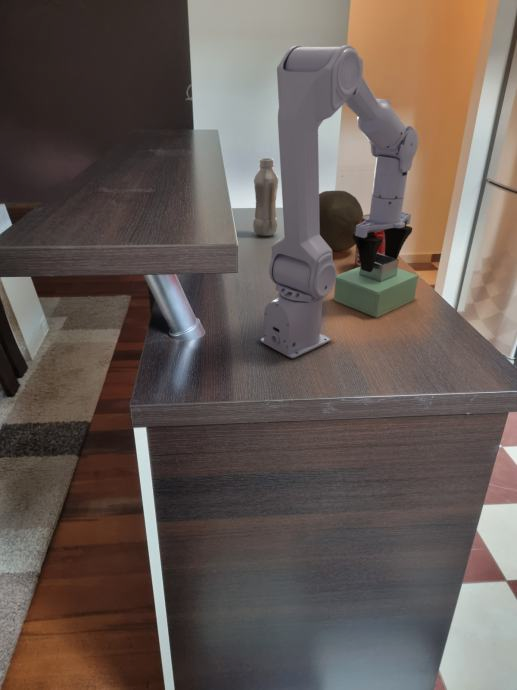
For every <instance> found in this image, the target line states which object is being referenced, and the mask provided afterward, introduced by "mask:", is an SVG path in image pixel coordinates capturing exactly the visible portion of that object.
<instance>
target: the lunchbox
mask: <svg viewBox="0 0 517 690" xmlns="http://www.w3.org/2000/svg"><path fill="white" fill-rule="evenodd" d="M418 280H419V277H418V278H416V279H414V280H412V281H409V282H407V283H405V284H402V285H400V286H398V287H395V288H393V289H391V290H389V291H386V292H384V293H382V294H379V295H376V294H373V293H371V292H368V291H365V290H363V289H360V288H357V287H355V286H352V285H349V284H346V283H344V282H341V281H338V280H336V281H335V284H334V295H333V301H335V302H337V303H340V304H342V305H345V306H346V307H349V308H351V309H353V310H357V311H359V312H362V313H364V314H366V315H369V316H371V317H374V318H379V317H381V316H383V315H386V314H388V313H390V312H391V311H394V310H396V309H398V308H400V307H402V306H405V305H407V304H409V303H411V302H414V301H415V297H416V293H417V285H418Z"/></svg>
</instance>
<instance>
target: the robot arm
mask: <svg viewBox="0 0 517 690" xmlns="http://www.w3.org/2000/svg"><path fill="white" fill-rule="evenodd" d="M363 74H364V60H363V58H361V56H359V53H358V51H357V49H356V48H355V47H354V46H352V45H349V44H347V45H341V46H302V45H293V46H291V47H290V48H289V49H288V50H287V51H286V53H285V54H284V55H283V57H282V58H281V60H280V62H279V64H278V65H277V67H276V78H277V95H278V96H277V99H278V110H277V129H278V144H279V145H278V147H279V148H278V149H279V166H280V180H281V201H282V216H283V217H282V218H283V233H284V234H283V235H284V236H282V237H281V238H279V239H278V240H277V241H275V242H274V243H273V245H272V246H271V258H270V262H269V270H268V272H269V273H268V274H269V278H270V280H271V281H272V283H273V284H275V291H276V292H278V294H277V296H276V297H275V298H274V299H273V300H272V301H270V302H269V303H267V304H266V306H265V307H264V308H265V309H264V314H263V337H262V338H260V343H262V344H264V345H265V346H268V347H269V348H271V349H273V350H275V351H277V352H279V353H281V354H283V355H284V356H286V357H288V358H290V359H296V358H298V357H300V356H302V355H304V354H306V353H308V352H310V351H313V350H315V349H317V348H319V347H321V346H323V345H325V344H327V343H329V342H331V337H328V336H326V335H324V334H323V333H321V325H322V313H323V312H322V311H323V301H324V298H325V297H326V296H327V295H329V294H330V293H331V292H332V289H333V288H334V287H335V283H336V275H337V267H336V265H335V262H334V259H333V251H332V249H331V248H330V247H329V246H328V244H327V243H326V242H325V241H324V240H323V238H322V237H321V236H320V222H319V194H320V180H319V179H320V174H319V173H320V168H319V167H320V166H319V164H320V163H319V127H320V126H321V125H322V123H323V122H324V121H325V120H327V119H330V118H332V116H333V115H335V114H336V113H337V111H338V110H339V109H340V108H341V107H342V106H343V105H344V104H345V105H346V106H347V107H348V108H349V109H350V110H351V112H353V113H354V114H355V115H356V116H357V118H356V124H357V128H358V129H359V131H360V132H361V133H362V134H363V135H364V136H365V137H366V139H367V140H368V142H369V144H370V145H369V146H370V153H371V155H372V157H375V166H374V174H373V175H374V176H373V183H372V192H371V200H370V210H369V214H370V217H369V218H368V219H366V220H365V221H364V222H362V223H361V224H359V225H356V232H354V233H353V239H354V241H355V243H356V244H355V247H356V246H357V249H358V252H359V257H360V263H361V269H362V270H364V271H367V272H372V270H373V267H374V263H375V258H376V254H377V251H378V249H379V247H380V245H381V243H382V241H383V239H380V238H377V237H376V235H374V234H375V233H376V232H379V231H382V230H384V234H385V255H386V256H389V257H393V258H396V259H399V258H398V257H399V255H400V252H401V250H402V249H403V246H404V244H405V243H406V241H407V240H408V238H409V237H410V235H411V234H412V232H413V227H412V226H409V225H410V223H411V218H412V214H411V213H408V212H404V211H403V205H404V199H405V192H406V185H407V177H408V172H409V171H411V168H412V167H413V161H414V158H415V155H416V153H417V151H418V148H419V134H418V131H417V130H415V128H414V127H413V126H411V125H405V123H404V122H403V121H402V119H401V117H400V116H399V115H398V114H397V113H396V111H395V110H394V108H393V107H392V106H391V104H392V103H391V101H390V99H387V98H376V96H375V95H374V92H373V91H372V89H371V87H370V86H369V84H368V82H367V81H366V79H365V77H364V75H363Z"/></svg>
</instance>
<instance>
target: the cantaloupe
mask: <svg viewBox="0 0 517 690" xmlns="http://www.w3.org/2000/svg"><path fill="white" fill-rule="evenodd" d="M363 215H364V211H363V208H362V206H361V203H360V202H359V200H358V199H357V198H356V196H354V195H353V194H351V193H350V192H348V191H346V190H326V191H325V190H324V191H322V192H319V222H320V236H321V237H322V238H323V240H324V241H325V242H326V243H327V244H328V246H329V247H330V248H331V249H332V252H335V253H341V252H345V251H348V250H350V249H352V248H353V247H354V246H356V243H355V241H354V239H353V233H354V232H356V225H359V223H360V222H361V220H362V219H363V218H362V216H363Z"/></svg>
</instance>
